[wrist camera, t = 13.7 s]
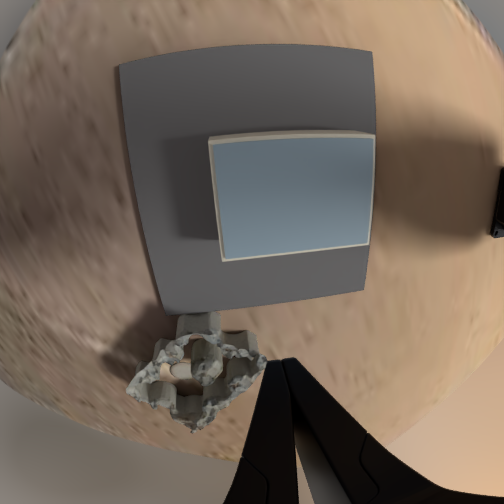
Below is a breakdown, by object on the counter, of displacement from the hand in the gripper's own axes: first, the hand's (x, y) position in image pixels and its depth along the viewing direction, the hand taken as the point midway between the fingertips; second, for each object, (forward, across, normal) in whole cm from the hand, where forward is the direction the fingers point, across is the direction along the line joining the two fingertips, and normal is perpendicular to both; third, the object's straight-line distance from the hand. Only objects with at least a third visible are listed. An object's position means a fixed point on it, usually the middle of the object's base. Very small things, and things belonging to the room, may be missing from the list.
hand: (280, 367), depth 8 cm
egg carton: (+11, +5, +10) cm, 16 cm away
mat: (+10, -1, -3) cm, 11 cm away
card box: (+9, +2, -3) cm, 9 cm away
